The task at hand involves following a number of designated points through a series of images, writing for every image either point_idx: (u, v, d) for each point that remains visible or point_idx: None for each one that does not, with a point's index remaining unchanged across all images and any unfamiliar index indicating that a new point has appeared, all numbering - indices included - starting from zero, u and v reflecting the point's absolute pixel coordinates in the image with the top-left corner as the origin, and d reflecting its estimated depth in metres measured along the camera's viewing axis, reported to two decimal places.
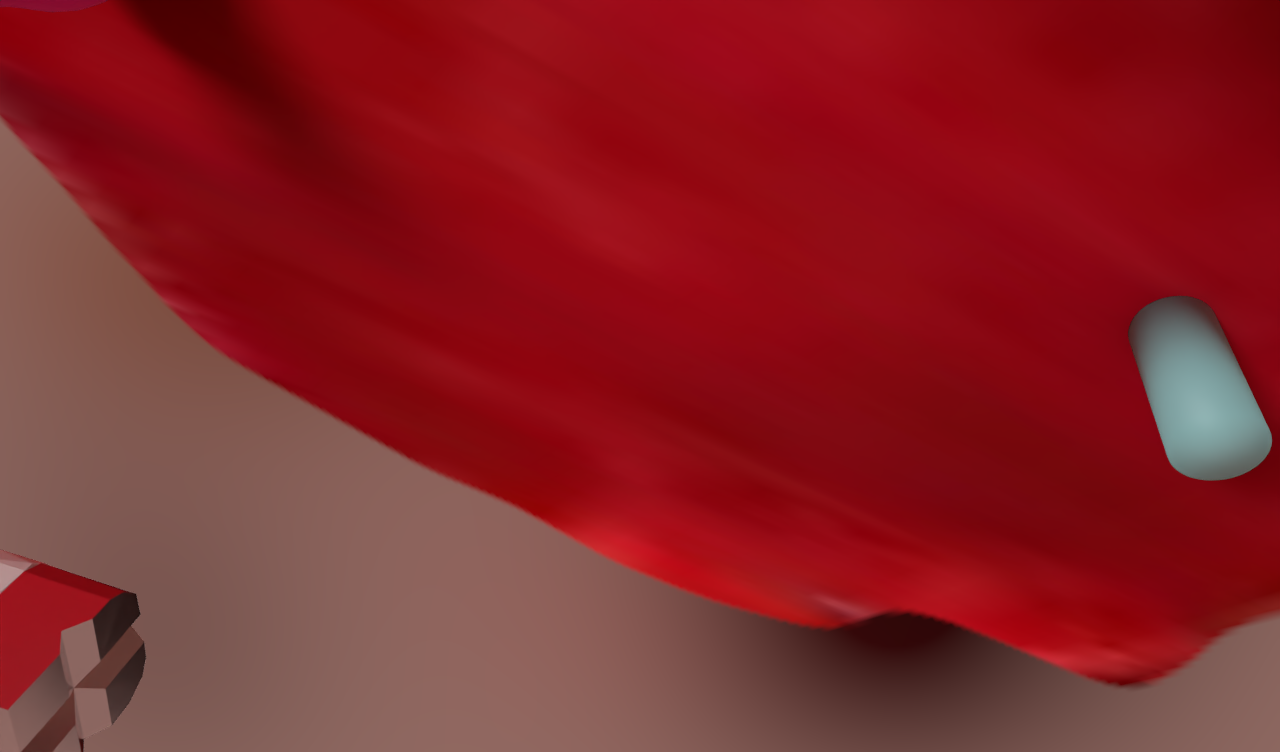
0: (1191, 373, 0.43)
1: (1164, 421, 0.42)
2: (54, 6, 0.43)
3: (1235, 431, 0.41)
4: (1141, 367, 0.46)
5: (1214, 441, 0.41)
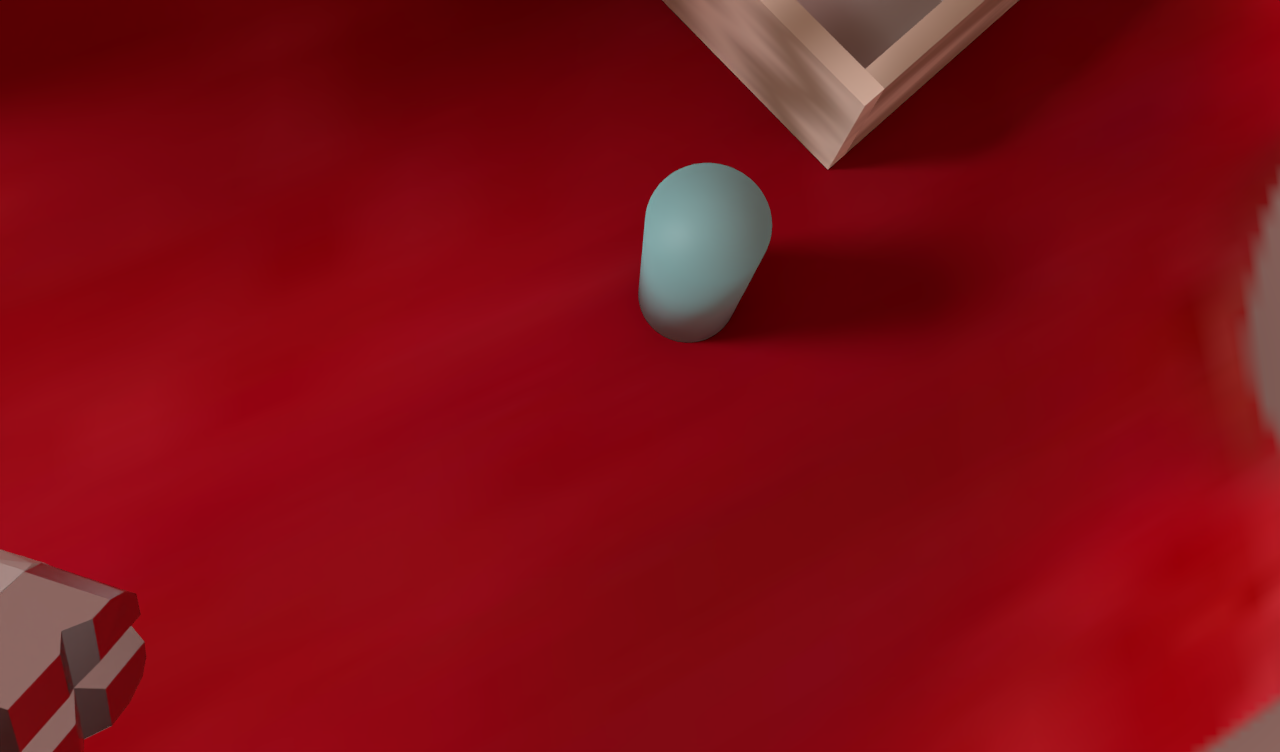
0: None
1: (665, 279, 0.31)
2: None
3: (691, 197, 0.30)
4: (667, 317, 0.35)
5: (696, 224, 0.30)
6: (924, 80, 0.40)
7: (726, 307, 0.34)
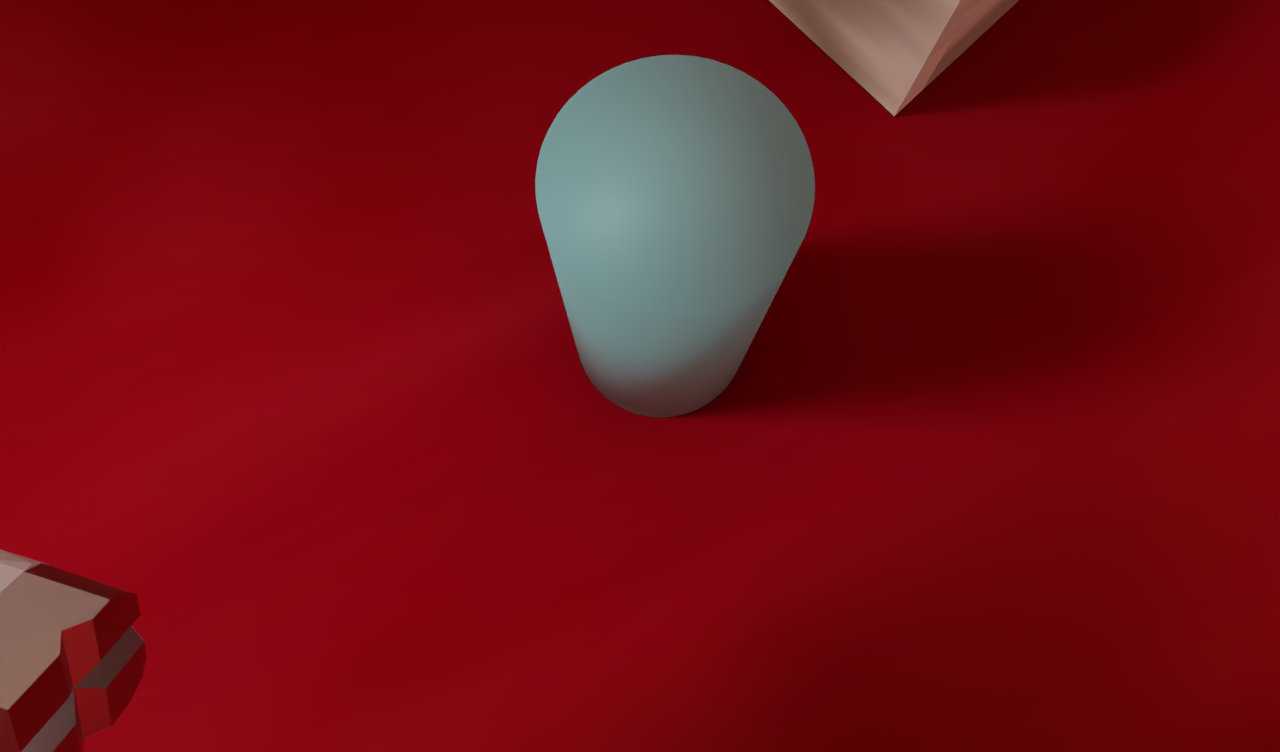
0: None
1: (589, 308, 0.14)
2: None
3: (635, 128, 0.14)
4: (617, 379, 0.19)
5: (649, 184, 0.14)
6: None
7: (724, 359, 0.17)
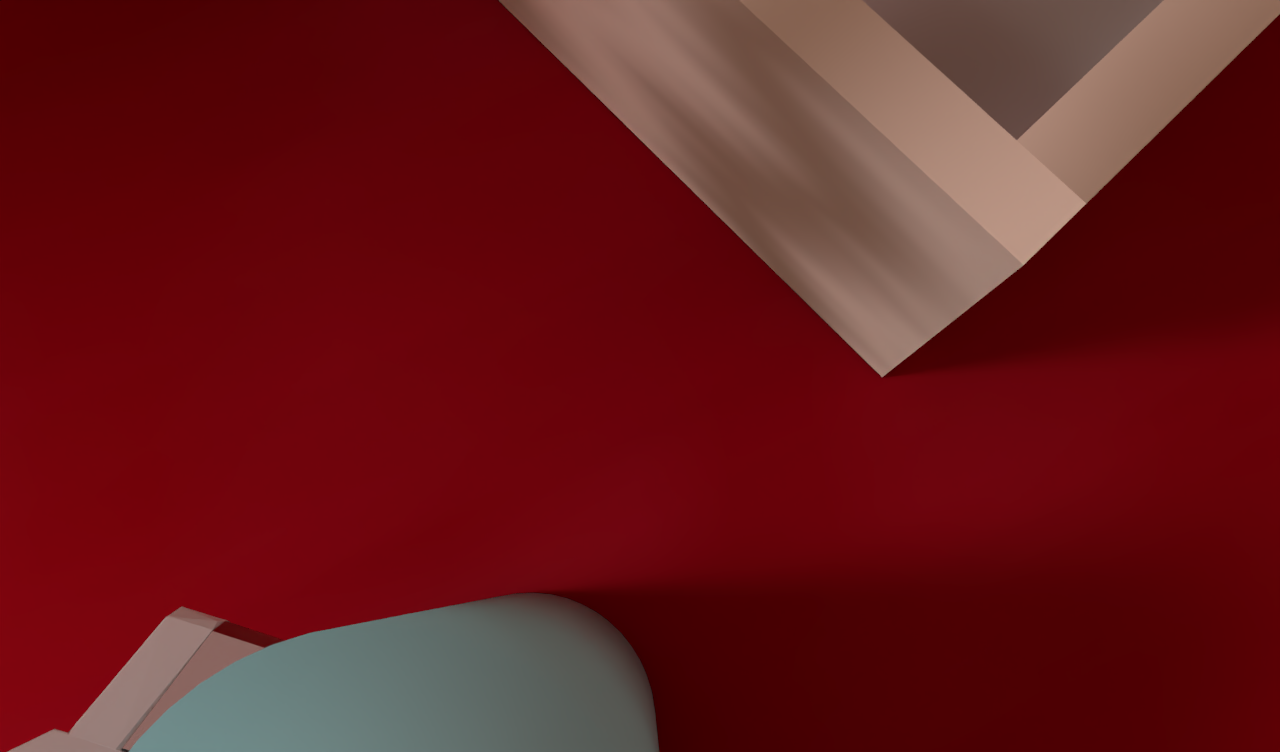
0: None
1: None
2: None
3: None
4: None
5: None
6: None
7: None
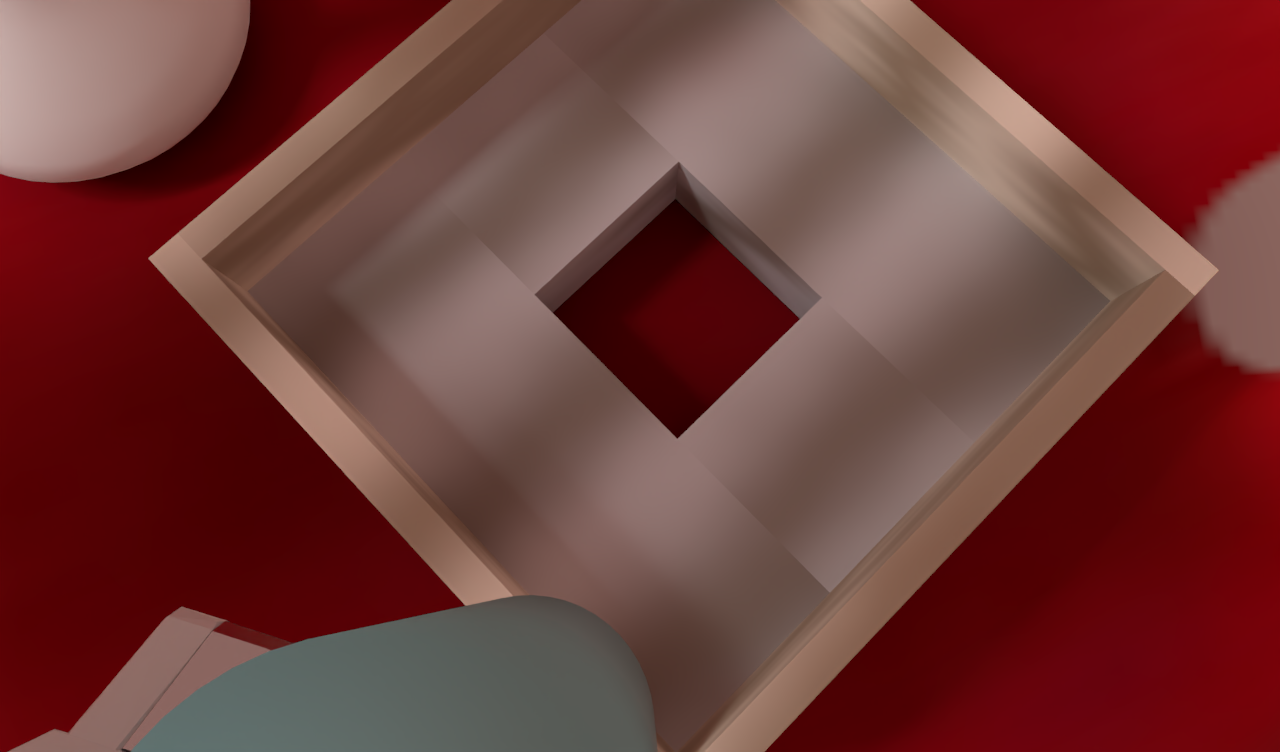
0: None
1: None
2: None
3: None
4: None
5: None
6: None
7: None
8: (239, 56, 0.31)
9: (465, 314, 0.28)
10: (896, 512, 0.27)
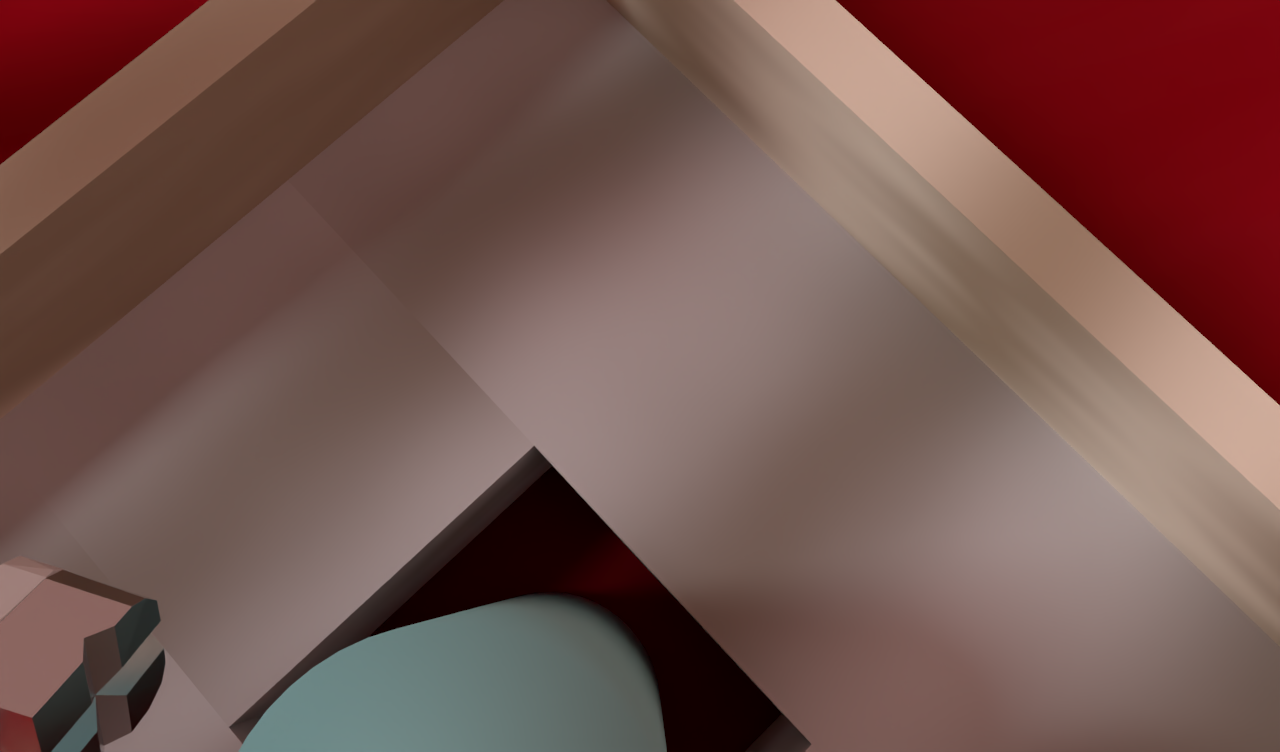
0: None
1: None
2: None
3: None
4: None
5: None
6: None
7: None
8: None
9: None
10: None
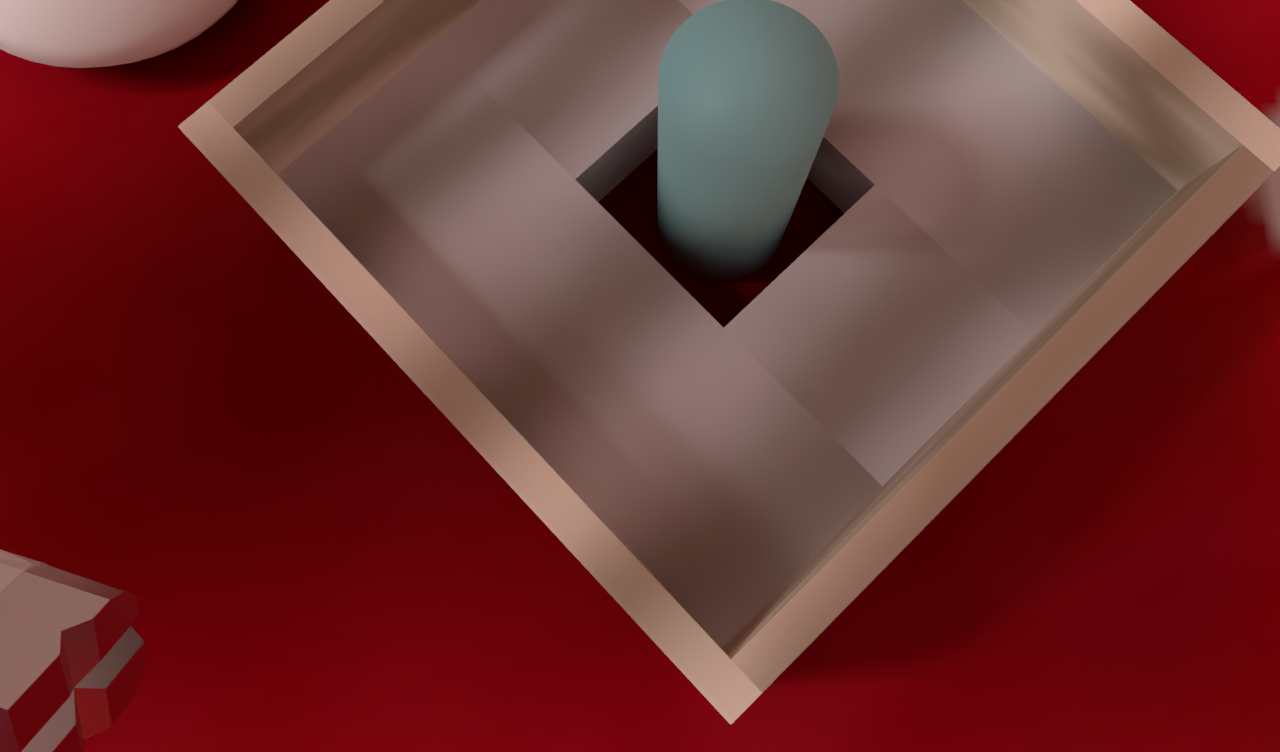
0: None
1: (689, 166, 0.22)
2: None
3: (722, 45, 0.21)
4: (695, 239, 0.26)
5: (732, 81, 0.21)
6: None
7: (774, 216, 0.25)
8: None
9: (503, 199, 0.27)
10: (952, 404, 0.26)
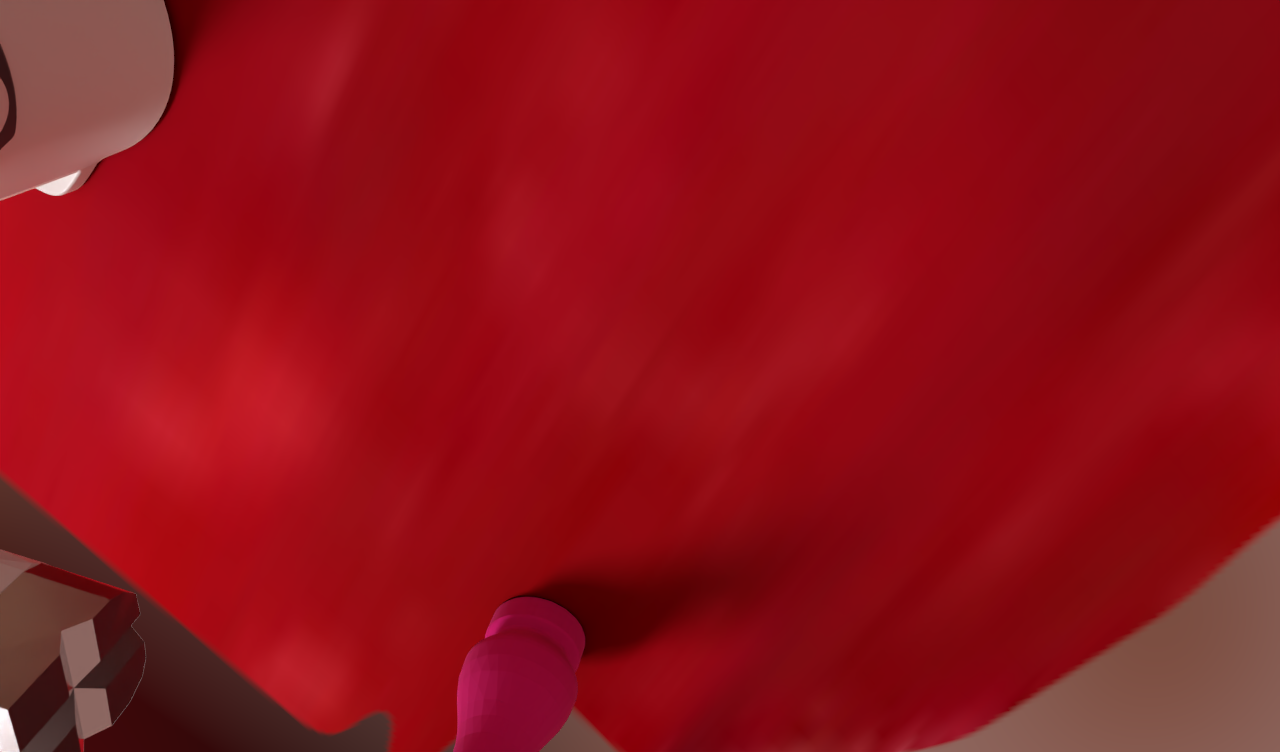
0: None
1: None
2: (552, 715, 0.55)
3: None
4: None
5: None
6: None
7: None
8: None
9: None
10: None
